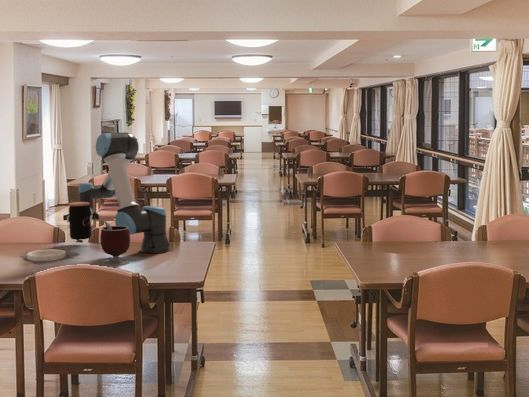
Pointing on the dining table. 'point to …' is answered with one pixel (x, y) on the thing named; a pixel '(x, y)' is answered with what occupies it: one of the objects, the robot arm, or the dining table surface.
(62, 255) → the dish
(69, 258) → the mat
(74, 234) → the coffee jar
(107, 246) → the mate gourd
